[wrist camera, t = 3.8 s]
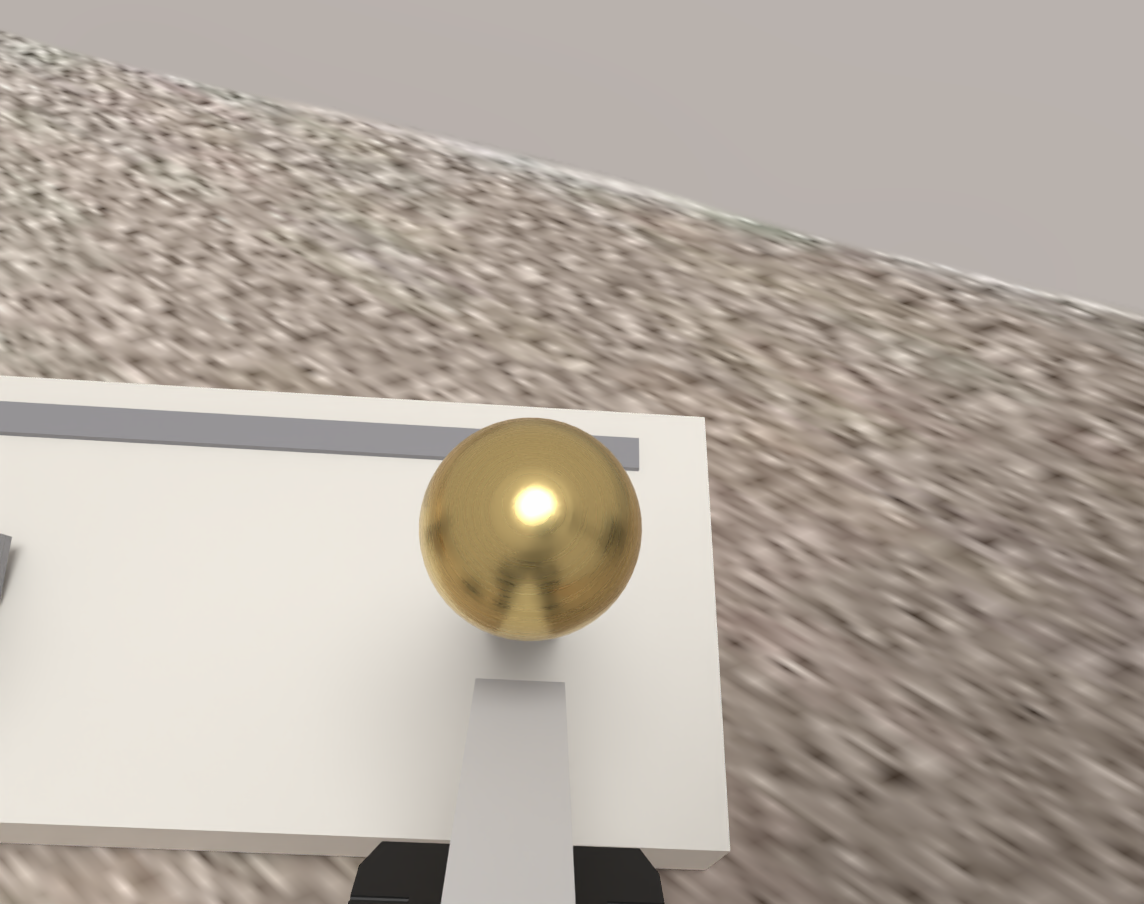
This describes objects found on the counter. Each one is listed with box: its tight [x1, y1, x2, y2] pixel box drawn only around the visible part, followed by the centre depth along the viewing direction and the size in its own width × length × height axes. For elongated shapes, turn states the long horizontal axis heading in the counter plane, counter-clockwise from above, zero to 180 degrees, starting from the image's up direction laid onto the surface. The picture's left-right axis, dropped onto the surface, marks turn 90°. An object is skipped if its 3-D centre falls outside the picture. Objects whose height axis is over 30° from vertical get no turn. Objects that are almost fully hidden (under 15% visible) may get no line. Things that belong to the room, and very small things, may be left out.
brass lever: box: [419, 418, 642, 641], centre depth 18 cm, size 3×3×12 cm
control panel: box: [0, 376, 730, 870], centre depth 25 cm, size 12×24×3 cm, turn 88°
